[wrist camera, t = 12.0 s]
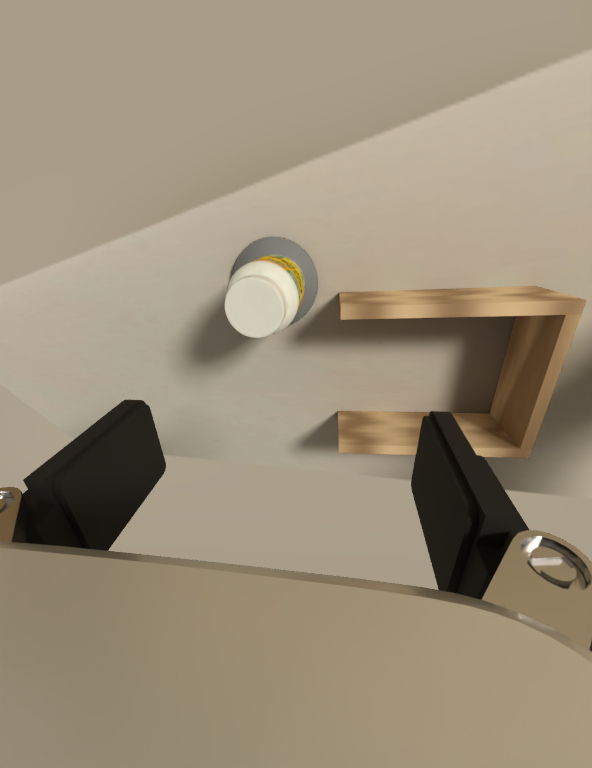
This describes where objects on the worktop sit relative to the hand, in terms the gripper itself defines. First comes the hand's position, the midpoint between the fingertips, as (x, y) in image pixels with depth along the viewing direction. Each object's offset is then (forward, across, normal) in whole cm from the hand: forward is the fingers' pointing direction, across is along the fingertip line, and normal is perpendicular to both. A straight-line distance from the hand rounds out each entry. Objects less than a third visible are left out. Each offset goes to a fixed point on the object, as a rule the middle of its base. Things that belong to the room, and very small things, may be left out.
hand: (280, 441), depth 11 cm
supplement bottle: (+21, +4, -2) cm, 21 cm away
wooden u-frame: (+22, -10, +6) cm, 25 cm away
